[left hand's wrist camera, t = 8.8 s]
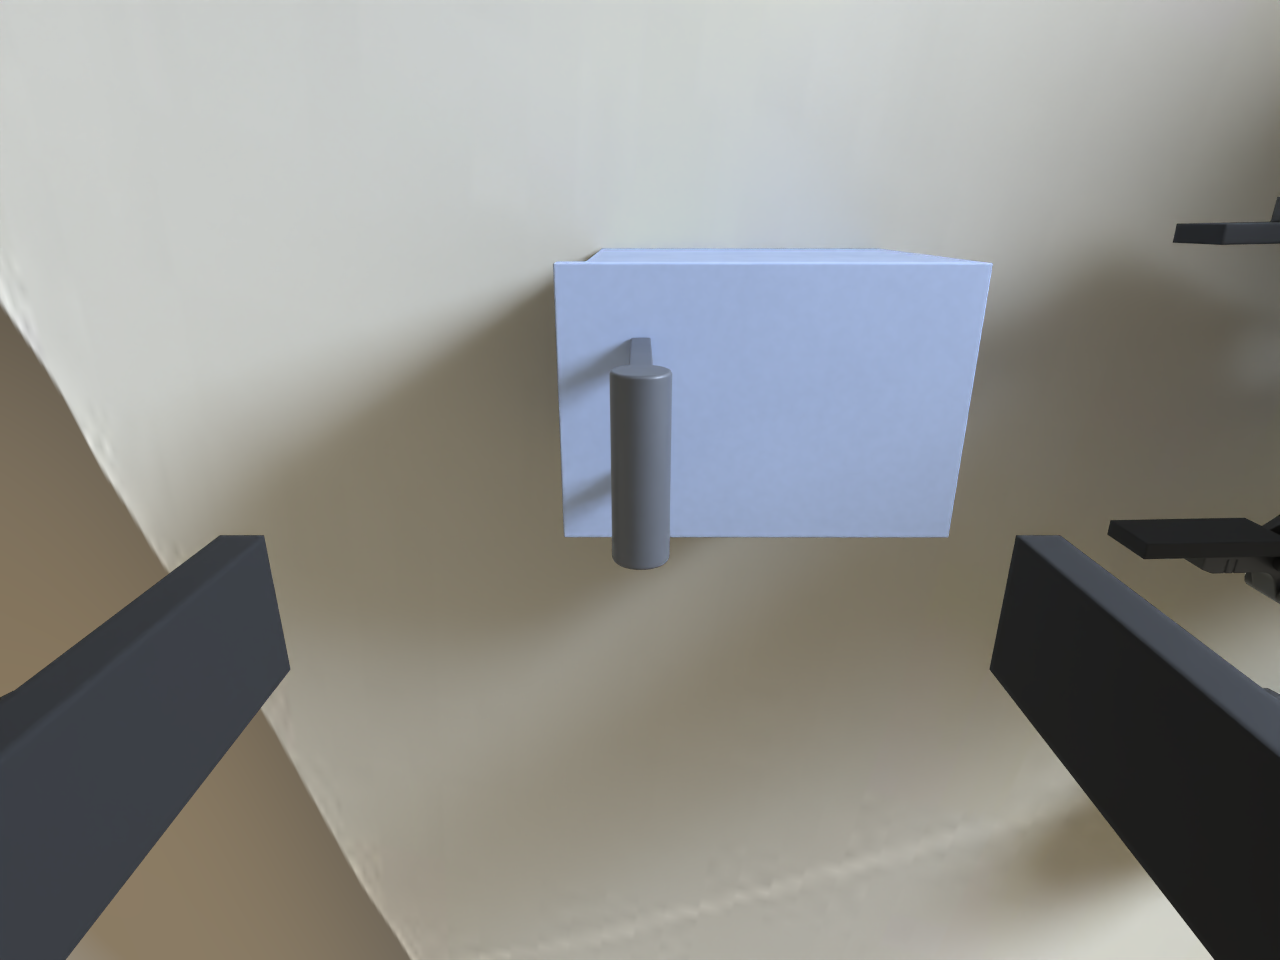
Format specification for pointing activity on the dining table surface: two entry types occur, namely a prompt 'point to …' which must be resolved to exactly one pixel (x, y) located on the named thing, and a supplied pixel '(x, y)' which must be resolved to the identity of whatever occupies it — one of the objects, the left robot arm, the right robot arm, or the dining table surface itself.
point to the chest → (763, 255)
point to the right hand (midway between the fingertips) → (1158, 397)
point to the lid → (762, 398)
